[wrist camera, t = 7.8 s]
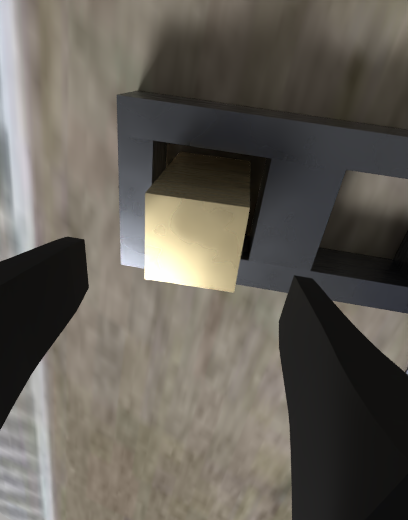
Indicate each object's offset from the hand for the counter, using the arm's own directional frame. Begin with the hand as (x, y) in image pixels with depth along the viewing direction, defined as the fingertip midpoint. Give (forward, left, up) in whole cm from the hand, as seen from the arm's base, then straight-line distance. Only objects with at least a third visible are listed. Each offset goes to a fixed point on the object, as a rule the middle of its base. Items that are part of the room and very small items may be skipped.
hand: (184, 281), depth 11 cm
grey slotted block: (-4, 0, -9) cm, 10 cm away
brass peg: (0, 0, -9) cm, 9 cm away
